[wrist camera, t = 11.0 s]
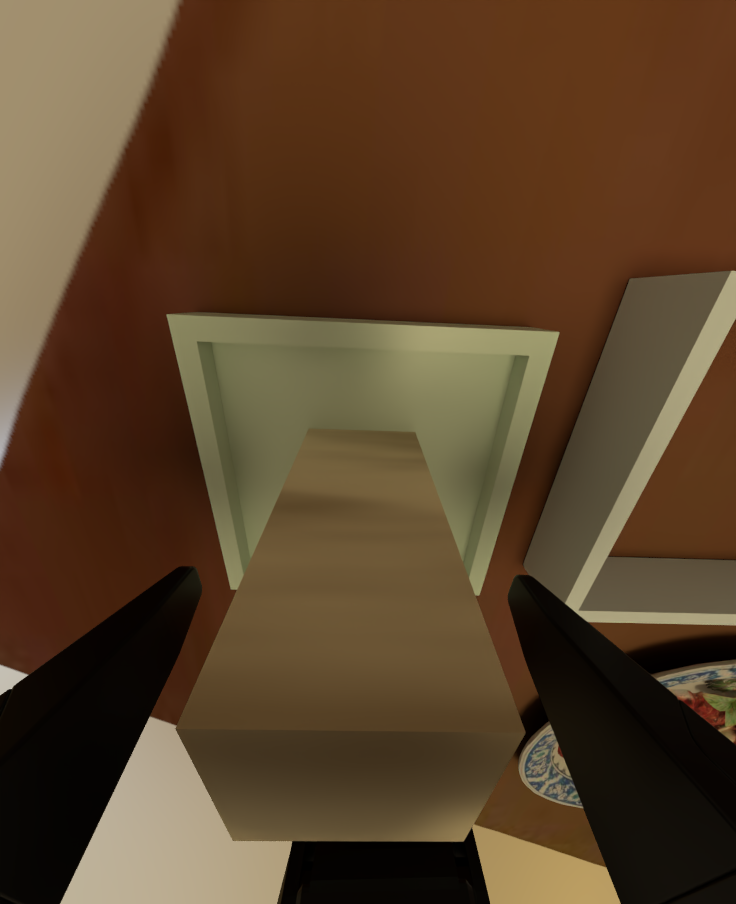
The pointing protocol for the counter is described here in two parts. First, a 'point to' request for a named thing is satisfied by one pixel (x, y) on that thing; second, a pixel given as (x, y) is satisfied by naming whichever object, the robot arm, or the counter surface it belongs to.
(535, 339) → the tray
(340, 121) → the counter surface
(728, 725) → the ceramic plate
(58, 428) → the counter surface
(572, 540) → the frame
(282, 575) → the birch peg
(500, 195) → the counter surface
